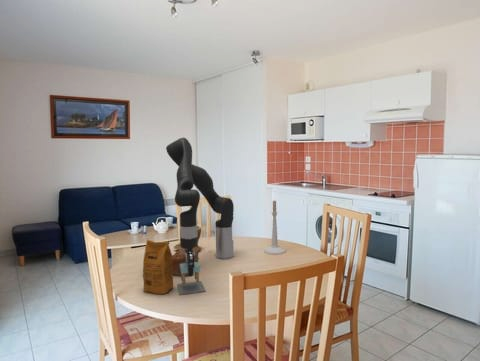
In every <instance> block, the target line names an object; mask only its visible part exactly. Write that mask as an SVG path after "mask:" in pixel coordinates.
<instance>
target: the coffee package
mask: <svg viewBox="0 0 480 361" xmlns="http://www.w3.org/2000/svg"><path fill="white" fill-rule="evenodd" d="M172 255H173V254H172V251H171V248H170V242H169V240H167V241H153V240H151V239H147V240H146V243H145V248H144V255H143V260H142V261H143V263H142V265H143V267H142V279H143V292H145V293H146V292H147V293H151V294H153V295H165V294H167V293H168V292H169V291H170V290H171V289H172V288H174V276H173V263H172V261H173V257H172Z"/></svg>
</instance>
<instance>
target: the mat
mask: <svg viewBox="0 0 480 361" xmlns="http://www.w3.org/2000/svg"><path fill="white" fill-rule="evenodd" d="M176 286H177V290H178V294H179V296H182V295H184V296H185V295H190V294H198V293H200V294H201V293H206V287H205V286H204V283H203V282H202V280H199V283H196V281H189V282H185V285H183V284H182V282H181V283H177V284H176Z"/></svg>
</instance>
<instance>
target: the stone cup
mask: <svg viewBox="0 0 480 361" xmlns="http://www.w3.org/2000/svg"><path fill="white" fill-rule="evenodd" d="M201 234H202V228H201V227H200V226H198V225H197V237H198V242H199V240H200V238H201ZM173 249H175V250H177V251H179V250H181V249H183V248H182V247H181V246H180V243H177V244H175V245H174V246H173ZM194 249H197V250H198V252H200V251H201V250H202V247H200V246H199V244H198V245H197V247H194Z"/></svg>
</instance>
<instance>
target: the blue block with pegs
mask: <svg viewBox="0 0 480 361" xmlns="http://www.w3.org/2000/svg"><path fill="white" fill-rule="evenodd" d="M190 265H192V263H190ZM194 265H195V267H194V268H193V273H194V279H195V282H196V283H199V281H200V273H201V266H200V264H199V261H198V262H194ZM180 271H181V276H180V278H181V283H182V284H183V285H185V283H186V276H185V273H188V263H183V264H180Z"/></svg>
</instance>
